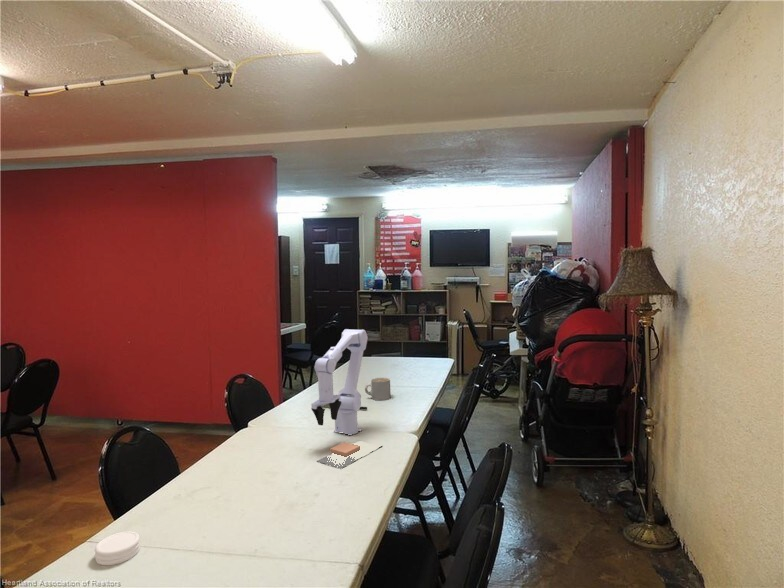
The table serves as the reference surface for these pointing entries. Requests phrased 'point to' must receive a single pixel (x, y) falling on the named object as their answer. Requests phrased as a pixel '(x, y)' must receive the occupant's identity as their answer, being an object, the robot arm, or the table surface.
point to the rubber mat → (325, 459)
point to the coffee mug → (379, 389)
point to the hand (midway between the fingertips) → (327, 422)
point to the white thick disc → (117, 548)
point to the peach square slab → (345, 449)
